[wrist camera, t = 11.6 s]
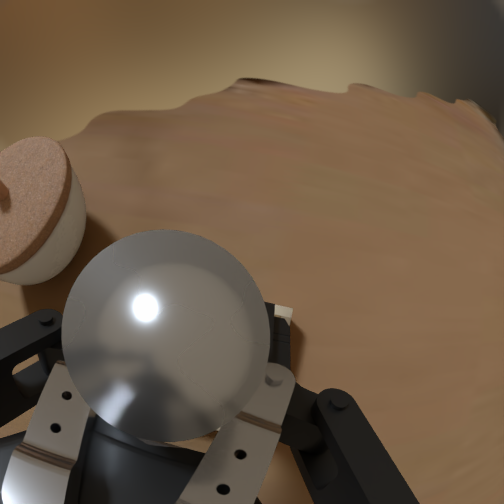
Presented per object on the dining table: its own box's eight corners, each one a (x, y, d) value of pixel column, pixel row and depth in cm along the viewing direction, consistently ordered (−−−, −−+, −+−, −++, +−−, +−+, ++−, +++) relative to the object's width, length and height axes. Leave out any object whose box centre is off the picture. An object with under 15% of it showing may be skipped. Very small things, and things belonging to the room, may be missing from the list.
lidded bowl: (125, 204, 28) (88, 127, 17) (71, 322, 23) (-4, 289, 13) (44, 179, 28) (1, 117, 18) (-5, 274, 23) (-69, 232, 13)
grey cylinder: (173, 378, 17) (42, 393, 4) (187, 324, 18) (101, 212, 5) (230, 393, 17) (242, 465, 4) (243, 338, 18) (288, 256, 5)
